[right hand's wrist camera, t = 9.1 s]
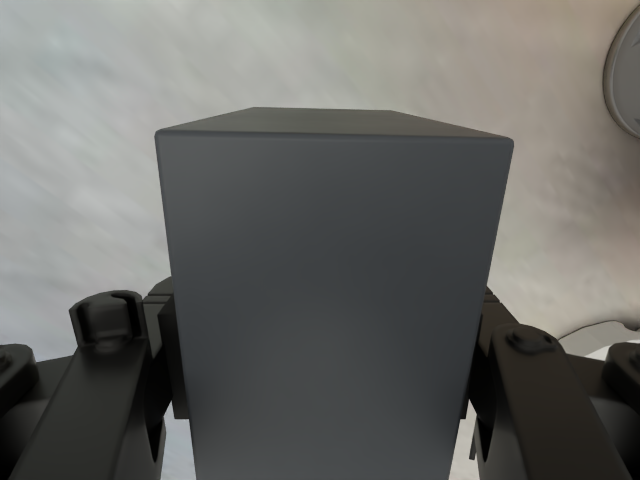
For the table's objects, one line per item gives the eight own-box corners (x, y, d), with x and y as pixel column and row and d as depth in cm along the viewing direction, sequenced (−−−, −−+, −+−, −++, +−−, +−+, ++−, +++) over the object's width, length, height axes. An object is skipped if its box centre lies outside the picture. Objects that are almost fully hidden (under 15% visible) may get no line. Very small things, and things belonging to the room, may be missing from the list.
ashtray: (483, 386, 53) (496, 408, 49) (645, 286, 47) (673, 302, 44) (566, 480, 59) (583, 506, 55) (718, 401, 54) (749, 424, 50)
